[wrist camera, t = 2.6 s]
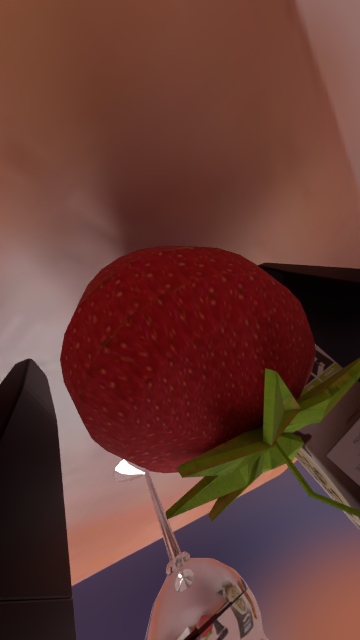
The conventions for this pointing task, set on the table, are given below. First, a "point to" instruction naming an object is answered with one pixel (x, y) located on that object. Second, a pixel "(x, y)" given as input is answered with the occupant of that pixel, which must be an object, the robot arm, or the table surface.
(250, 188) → the table surface
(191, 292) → the strawberry
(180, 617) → the wineglass
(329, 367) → the coffee box
